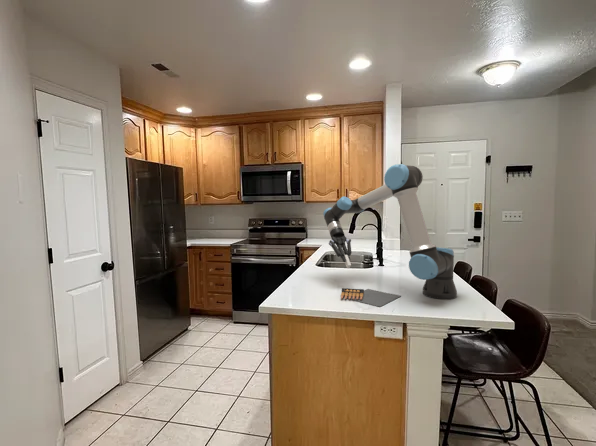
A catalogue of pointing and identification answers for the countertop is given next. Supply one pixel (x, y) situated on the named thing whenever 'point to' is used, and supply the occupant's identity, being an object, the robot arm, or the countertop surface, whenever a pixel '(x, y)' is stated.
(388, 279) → the countertop surface
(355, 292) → the ammunition clip
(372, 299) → the rubber mat
